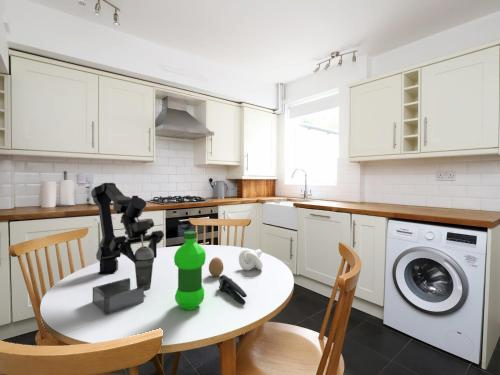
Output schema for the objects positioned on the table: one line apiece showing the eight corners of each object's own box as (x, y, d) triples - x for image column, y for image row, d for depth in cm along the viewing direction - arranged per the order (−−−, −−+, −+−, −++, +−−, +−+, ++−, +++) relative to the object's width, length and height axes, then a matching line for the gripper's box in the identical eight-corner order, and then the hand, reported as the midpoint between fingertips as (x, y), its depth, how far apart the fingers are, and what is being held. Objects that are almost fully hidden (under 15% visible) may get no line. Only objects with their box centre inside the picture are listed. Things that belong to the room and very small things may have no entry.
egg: (224, 273, 118) (224, 255, 118) (222, 279, 112) (222, 260, 111) (210, 273, 118) (210, 255, 118) (207, 278, 112) (207, 259, 112)
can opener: (214, 288, 103) (215, 274, 102) (230, 284, 106) (230, 271, 106) (235, 307, 87) (235, 291, 87) (253, 303, 91) (253, 287, 91)
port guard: (128, 290, 98) (128, 277, 98) (143, 301, 90) (143, 287, 90) (92, 301, 89) (92, 287, 89) (105, 314, 81) (105, 299, 81)
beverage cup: (143, 294, 91) (144, 237, 90) (128, 290, 94) (128, 235, 93) (158, 286, 98) (159, 233, 97) (144, 283, 100) (144, 232, 100)
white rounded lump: (246, 262, 134) (246, 245, 133) (268, 266, 128) (268, 248, 128) (236, 269, 124) (236, 250, 123) (259, 274, 118) (259, 254, 118)
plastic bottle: (199, 315, 82) (200, 236, 81) (168, 311, 84) (168, 234, 83) (209, 300, 92) (210, 230, 91) (181, 297, 93) (182, 228, 93)
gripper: (112, 214, 90) (126, 252, 83) (162, 210, 104) (177, 242, 97) (104, 233, 96) (116, 270, 89) (152, 226, 110) (165, 258, 103)
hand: (145, 259), depth 94 cm, fingers closed on beverage cup, 7 cm apart
